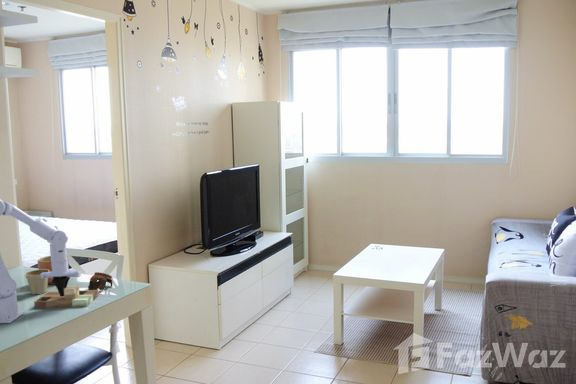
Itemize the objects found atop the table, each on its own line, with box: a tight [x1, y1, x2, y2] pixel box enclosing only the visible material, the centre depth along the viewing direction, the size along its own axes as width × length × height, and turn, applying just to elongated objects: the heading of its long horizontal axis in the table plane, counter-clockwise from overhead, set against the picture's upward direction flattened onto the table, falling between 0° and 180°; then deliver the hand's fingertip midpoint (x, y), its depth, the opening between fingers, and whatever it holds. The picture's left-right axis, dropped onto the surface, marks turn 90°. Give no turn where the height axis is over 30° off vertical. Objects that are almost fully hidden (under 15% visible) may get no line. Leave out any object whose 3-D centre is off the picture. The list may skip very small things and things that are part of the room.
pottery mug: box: [87, 271, 113, 291], centre depth 221 cm, size 12×10×8 cm
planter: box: [37, 255, 70, 285], centre depth 235 cm, size 12×12×11 cm
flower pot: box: [24, 269, 49, 295], centre depth 220 cm, size 9×9×9 cm
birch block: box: [64, 285, 80, 299], centre depth 203 cm, size 4×4×4 cm
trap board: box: [33, 289, 100, 309], centre depth 206 cm, size 12×20×2 cm, turn 89°
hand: (62, 295), depth 203 cm, fingers closed
